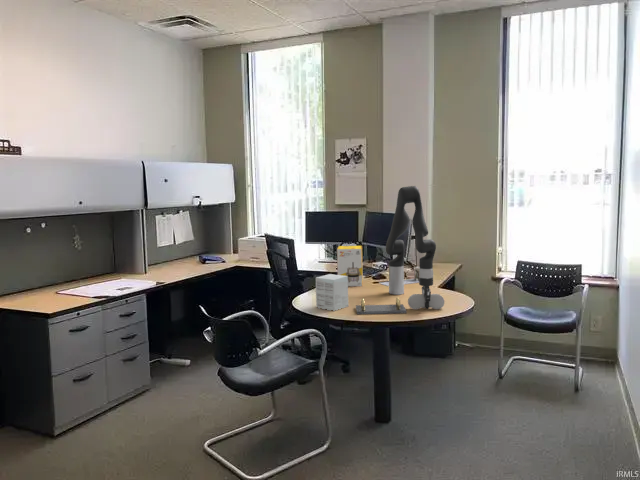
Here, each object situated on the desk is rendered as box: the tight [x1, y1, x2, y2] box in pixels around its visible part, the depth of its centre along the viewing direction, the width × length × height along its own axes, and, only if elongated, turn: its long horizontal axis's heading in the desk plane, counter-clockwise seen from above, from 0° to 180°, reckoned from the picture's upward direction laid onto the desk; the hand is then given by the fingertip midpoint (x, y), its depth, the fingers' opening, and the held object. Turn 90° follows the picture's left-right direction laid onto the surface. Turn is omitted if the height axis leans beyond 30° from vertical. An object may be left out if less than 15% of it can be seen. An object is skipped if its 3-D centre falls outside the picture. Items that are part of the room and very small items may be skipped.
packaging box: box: [336, 245, 364, 287], centre depth 362 cm, size 16×16×25 cm
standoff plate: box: [355, 297, 407, 315], centre depth 288 cm, size 14×26×6 cm, turn 89°
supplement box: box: [315, 273, 349, 312], centre depth 298 cm, size 13×13×18 cm
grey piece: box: [407, 293, 445, 310], centre depth 289 cm, size 20×2×8 cm, turn 85°
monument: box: [378, 266, 420, 287], centre depth 363 cm, size 12×33×10 cm, turn 113°
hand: (426, 307), depth 290 cm, fingers open, 4 cm apart
